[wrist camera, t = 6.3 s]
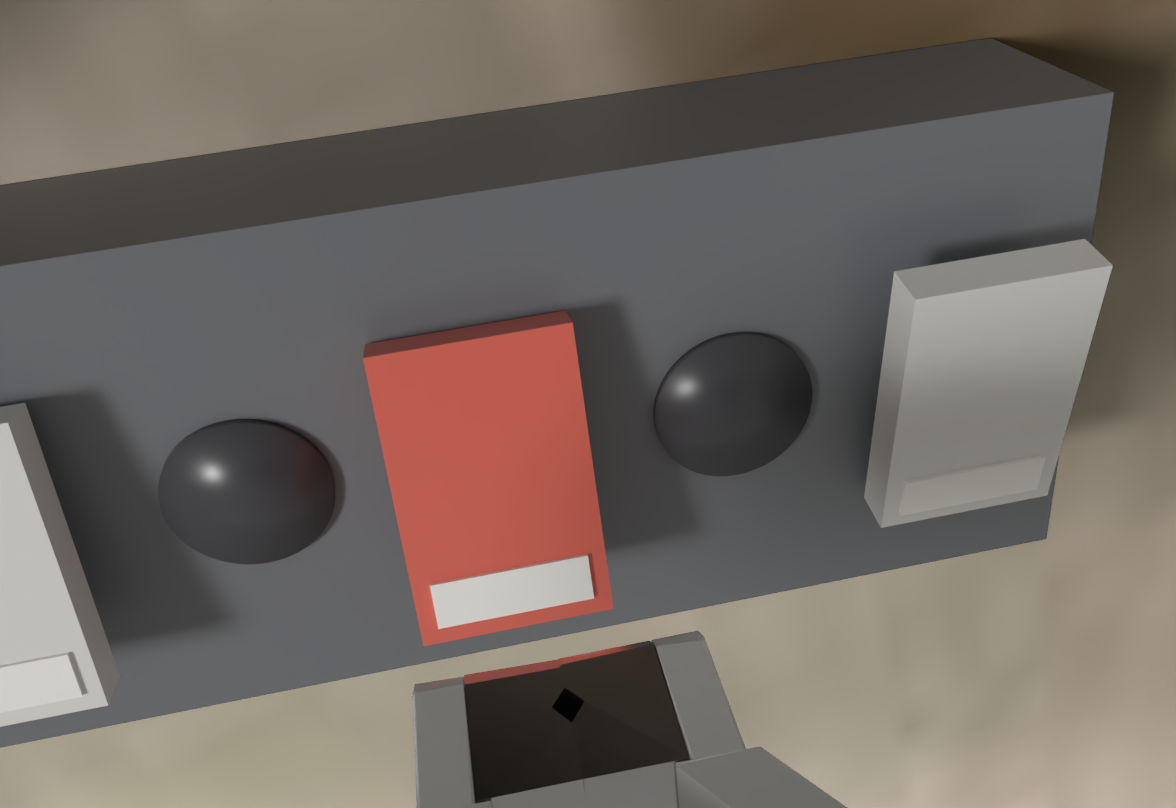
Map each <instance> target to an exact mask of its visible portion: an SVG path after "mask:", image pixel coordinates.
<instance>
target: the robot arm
mask: <svg viewBox="0 0 1176 808" xmlns="http://www.w3.org/2000/svg"><path fill="white" fill-rule="evenodd" d="M412 701H413V726H414V752H415V778H416V804H417V808H847V807H846V806H844V805H843V804H841V803H840V802H838V801H837V800H836V799H834V798H833V797H831V796H830V795H828V794H827V793H826V792H824V791H823V790H821V789H820V788H818V787H817V786H816V785H814V784H813V783H811V782H810V781H809V780H807V779H806V778H804V777H803V776H801V775H800V774H799V773H797V772H796V771H794V770H793V769H791V768H790V767H789V766H787V765H786V764H784V763H783V762H781V761H780V760H779V759H777V758H776V757H774V756H773V755H772V754H770V753H769V752H767V751H766V750H764V749H763V748H762V747H755V748H749V749H746V748H745V745H744V742H743V740H742V737H741V734H740V732H739V729H738V726H737V724H736V721H735V718H734V716H733V713H732V710H731V708H730V705H729V702H728V700H727V697H726V694H725V692H724V689H723V686H722V684H721V681H720V678H719V676H718V673H717V670H716V668H715V665H714V662H713V660H712V657H711V654H710V652H709V649H708V646H707V644H706V641H705V638H704V636H703V635H702V634H701V633H700V632H698V631H694V632H689V633H684V634H679V635H674V636H669V637H664V638H660V639H655V640H652V642H650V641H646V642H641V643H636V644H631V645H626V646H621V647H616V648H611V649H606V650H601V651H596V652H591V653H586V654H581V655H576V656H571V657H566V658H561V659H558V660H553V661H547V662H541V663H535V664H529V665H523V666H517V667H511V668H505V669H499V670H493V671H487V672H481V673H475V674H469V675H464V677H458V678H452V679H445V680H439V681H433V682H426V683H420V684H415V687H414V691H413V696H412Z"/></svg>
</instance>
